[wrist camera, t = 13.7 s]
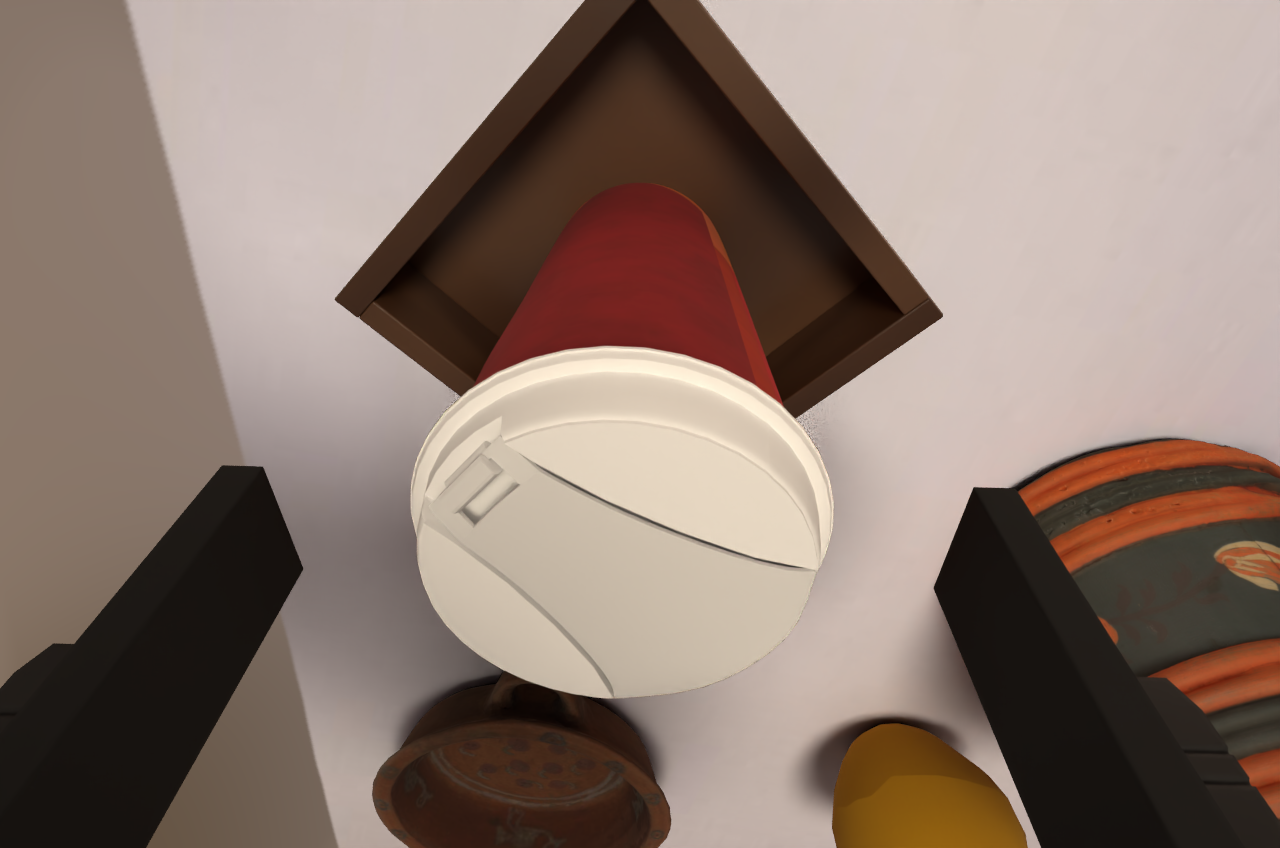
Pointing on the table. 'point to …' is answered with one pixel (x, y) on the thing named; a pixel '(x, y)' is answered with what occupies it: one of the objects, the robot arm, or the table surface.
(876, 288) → the square wooden tray
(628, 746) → the dish
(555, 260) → the coffee cup
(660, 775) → the table surface
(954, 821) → the apple
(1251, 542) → the beer stein
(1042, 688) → the robot arm
